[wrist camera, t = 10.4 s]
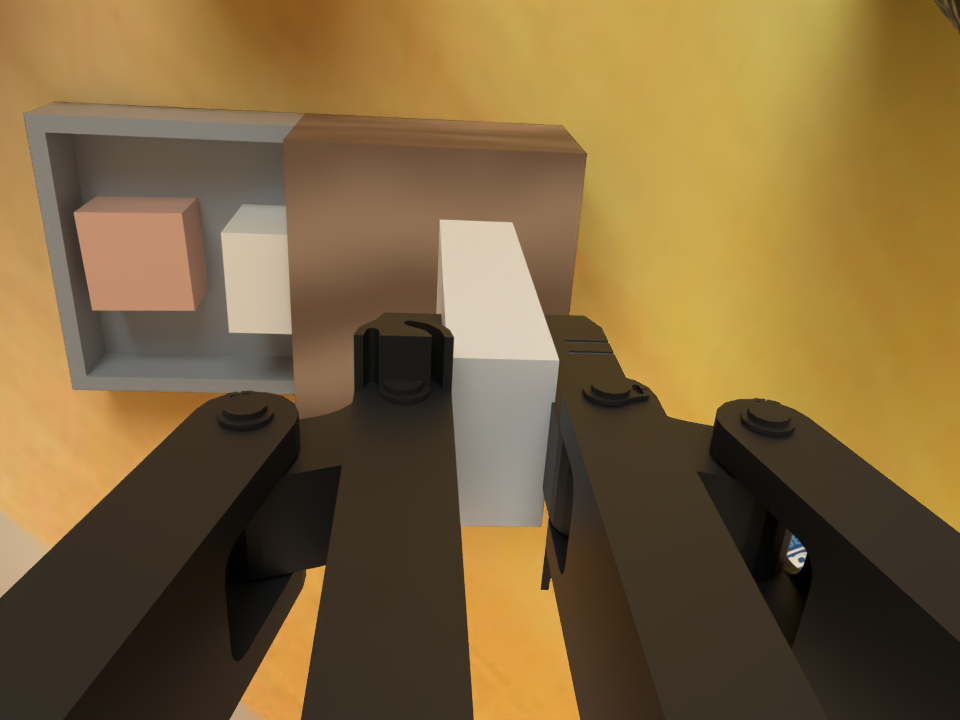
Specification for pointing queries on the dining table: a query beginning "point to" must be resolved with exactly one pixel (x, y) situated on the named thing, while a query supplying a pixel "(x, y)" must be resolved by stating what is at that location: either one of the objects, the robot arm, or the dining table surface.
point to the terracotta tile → (142, 253)
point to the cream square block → (257, 270)
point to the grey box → (159, 173)
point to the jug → (951, 11)
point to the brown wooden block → (410, 224)
